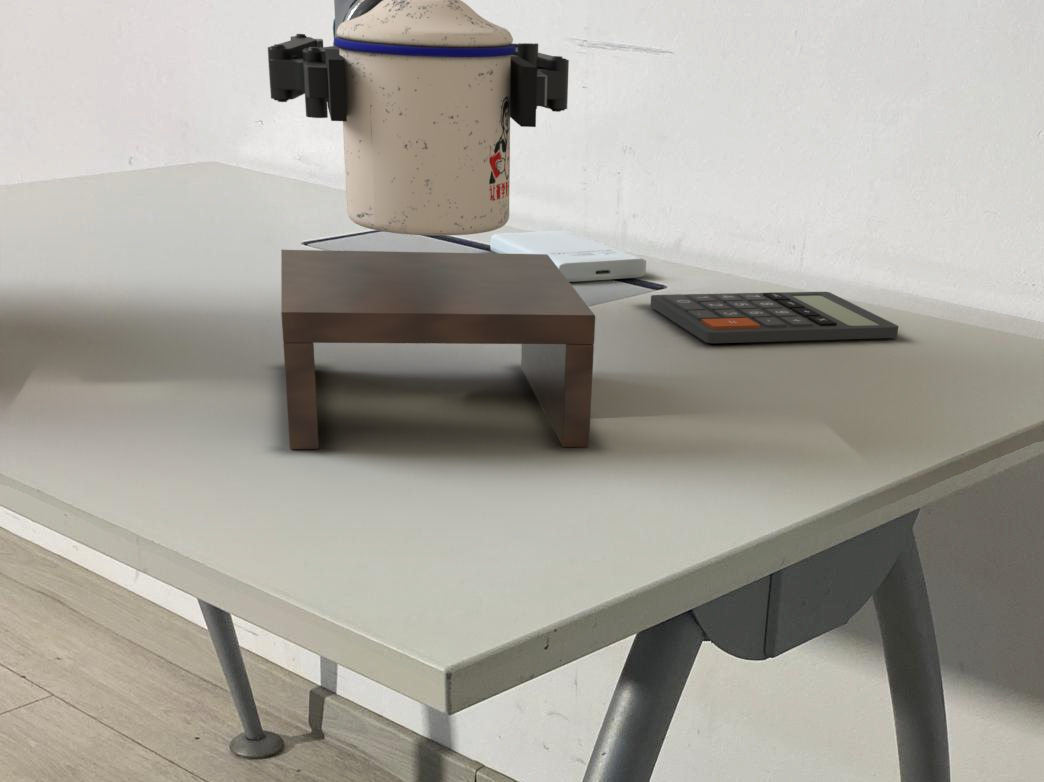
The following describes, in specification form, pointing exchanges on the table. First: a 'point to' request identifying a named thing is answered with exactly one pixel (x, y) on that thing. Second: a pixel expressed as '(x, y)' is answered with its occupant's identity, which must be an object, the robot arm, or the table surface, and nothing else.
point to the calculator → (771, 317)
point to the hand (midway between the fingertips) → (434, 94)
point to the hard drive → (572, 254)
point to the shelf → (439, 321)
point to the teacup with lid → (426, 118)
